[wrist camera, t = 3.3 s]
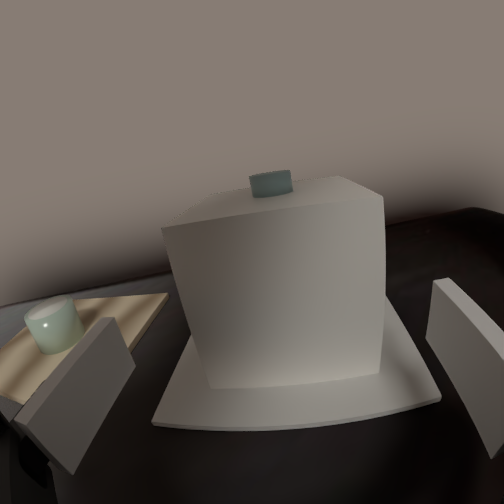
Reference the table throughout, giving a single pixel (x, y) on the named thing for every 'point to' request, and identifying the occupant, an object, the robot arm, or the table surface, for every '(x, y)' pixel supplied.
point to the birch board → (90, 311)
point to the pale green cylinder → (55, 324)
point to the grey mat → (300, 393)
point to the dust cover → (283, 280)
